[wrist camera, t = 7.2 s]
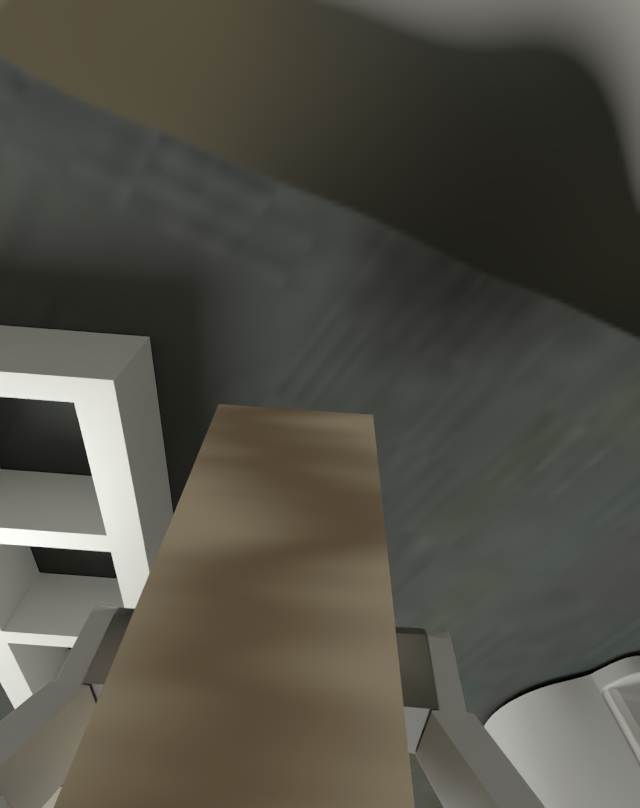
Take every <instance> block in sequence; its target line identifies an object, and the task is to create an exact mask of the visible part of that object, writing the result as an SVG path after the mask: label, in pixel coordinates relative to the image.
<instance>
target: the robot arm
mask: <svg viewBox="0 0 640 808" xmlns="http://www.w3.org/2000/svg"><path fill="white" fill-rule="evenodd" d="M134 610H135V609H134V608H122V607H113V606H97V605H96V607H95V608H94V609H93V610H92V611H91V612H90V614H89V616H88V618H87V620H86V622H85V624H84V625H83V627H82V629H81V631H80V633H79V635H78V637H77V639H76V641H75V643H74V645H73V647H72V649H71V651H70V653H69V655H68V657H67V659H66V661H65V663H64V665H63V667H62V669H61V671H60V673H59V675H58V677H57V679H56V681H55V682H47V683H46V684H45V685H44V686H42V687H41V688H40V689H39V690H38V691H36V692H35V693H34V694H33V695H32V696H30V697H29V698H28V699H27V700H26V701H24V702H23V703H22V704H21V705H20V706H18V707H17V708H16V709H15V710H14V711H12V712H11V713H10V714H9V715H8V716H6V717H5V718H4V719H3V720H2V721H0V808H42V807H43V806H44V804H45V803H46V802H47V801H48V800H49V799H50V798H51V796H52V795H53V794H54V793H55V792H56V791H57V790H58V789H59V787H60V786H61V785H62V784H63V783H64V781H65V779H66V776H67V774H68V771H69V769H70V767H71V764H72V762H73V759H74V757H75V754H76V752H77V749H78V747H79V745H80V742H81V740H82V737H83V735H84V732H85V730H86V727H87V725H88V723H89V720H90V718H91V715H92V713H93V710H94V708H95V705H96V703H97V700H98V698H99V696H100V693H101V691H102V688H103V686H104V683H105V681H106V678H107V676H108V674H109V671H110V669H111V666H112V664H113V661H114V659H115V656H116V654H117V652H118V649H119V647H120V644H121V642H122V639H123V637H124V634H125V632H126V630H127V627H128V625H129V622H130V620H131V617H132V615H133V612H134ZM395 629H396V639H397V648H398V658H399V667H400V676H401V686H402V695H403V705H404V714H405V724H406V733H407V742H408V752H409V753H414V754H416V755H415V757H416V758H417V760H418V762H419V764H420V766H421V767H422V769H423V771H424V773H425V775H426V776H427V778H428V780H429V782H430V784H431V785H432V787H433V789H434V791H435V793H436V794H437V796H438V798H439V800H440V802H441V803H442V805H443V807H444V808H640V656H632V657H628V658H625V659H622V660H619V661H617V662H614V663H612V664H610V665H608V666H606V667H604V668H602V669H600V670H598V671H596V672H594V673H592V674H590V675H587V676H584V677H580V678H577V679H573V680H568V681H564V682H560V683H556V684H553V685H549V686H546V687H543V688H540V689H537V690H534V691H531V692H529V693H527V694H524V695H522V696H520V697H518V698H516V699H514V700H512V701H511V702H509V703H507V704H506V705H504V706H503V707H501V708H500V709H499V710H498V711H496V712H495V713H494V714H493V715H492V716H491V717H490V718H489V720H488V721H487V722H486V724H485V726H483V725H482V724H481V723H480V721H479V720H478V719H477V717H476V716H475V715H474V713H466V708H465V703H464V698H463V693H462V689H461V684H460V679H459V674H458V670H457V665H456V660H455V655H454V650H453V646H452V641H451V637H450V635H449V633H448V632H447V631H445V630H430V629H422V628H403V627H395Z"/></svg>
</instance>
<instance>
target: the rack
mask: <svg viewBox="0 0 640 808" xmlns="http://www.w3.org/2000/svg"><path fill="white" fill-rule="evenodd" d="M0 397H9V398H22V399H36V400H49V401H62V402H74V404H75V408H76V412H77V416H78V420H79V424H80V429H81V433H82V437H83V441H84V445H85V449H86V453H87V457H88V461H89V465H90V469H91V473H92V476H86V475H73V474H59V473H46V472H33V471H20V470H6V469H1V468H0V682H1V684H2V686H3V688H4V690H5V692H6V694H7V695H8V697H9V699H10V701H11V703H12V705H13V706H14V708H15V709H16V708H17V707H18V706H20V705H21V704H22V703H23V702H24V701H26V700H27V699H28V698H29V697H30V696H32V695H33V694H34V693H35V692H36V691H38V690H39V689H40V688H41V687H42V686H44V685H45V684H46V683H47V682H55V681H56V679H57V677H58V675H59V673H60V671H61V669H62V667H63V665H64V663H65V661H66V659H67V657H68V655H69V653H70V651H71V649H68V647H69V648H72V647H73V645H74V643H75V641H76V639H77V637H78V635H79V633H80V631H81V629H82V627H83V625H84V624H85V622H86V620H87V618H88V616H89V614H90V612H91V611H92V610H93V609H94V608H95V607H96V605H97V606H113V607H122V608H134V609H135V608H136V605H137V603H138V600H139V598H140V595H141V593H142V590H143V588H144V586H145V583H146V581H147V578H148V576H149V573H150V571H151V568H152V566H153V564H154V561H155V559H156V556H157V554H158V551H159V549H160V546H161V544H162V541H163V539H164V537H165V534H166V532H167V529H168V527H169V524H170V522H171V519H172V517H173V508H172V501H171V493H170V486H169V478H168V471H167V463H166V456H165V448H164V441H163V434H162V426H161V419H160V411H159V404H158V396H157V389H156V381H155V374H154V366H153V359H152V351H151V344H150V337H146V336H133V335H120V334H107V333H94V332H81V331H69V330H56V329H43V328H30V327H17V326H4V325H0ZM30 546H36V547H49V548H63V549H76V550H89V551H103V552H111V555H112V559H113V563H114V567H115V571H116V575H117V578H104V577H91V576H77V575H64V574H50V573H40V572H39V570H38V567H37V564H36V562H35V559H34V556H33V554H32V551H31V548H30Z"/></svg>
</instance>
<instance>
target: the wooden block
mask: <svg viewBox="0 0 640 808" xmlns="http://www.w3.org/2000/svg"><path fill="white" fill-rule="evenodd" d="M54 808H414V799H413V790H412V780H411V771H410V761H409V752H408V742H407V733H406V724H405V714H404V705H403V695H402V686H401V676H400V667H399V658H398V648H397V639H396V629H395V620H394V610H393V601H392V592H391V582H390V573H389V563H388V554H387V544H386V535H385V526H384V516H383V507H382V497H381V488H380V478H379V469H378V460H377V450H376V441H375V431H374V422H373V415H366V414H352V413H338V412H323V411H309V410H294V409H280V408H265V407H251V406H236V405H222V404H218V407H217V409H216V412H215V414H214V417H213V419H212V422H211V424H210V427H209V429H208V431H207V434H206V436H205V439H204V441H203V444H202V446H201V449H200V451H199V453H198V456H197V458H196V461H195V463H194V466H193V468H192V471H191V473H190V475H189V478H188V480H187V483H186V485H185V488H184V490H183V493H182V495H181V497H180V500H179V502H178V505H177V507H176V510H175V512H174V515H173V517H172V519H171V522H170V524H169V527H168V529H167V532H166V534H165V537H164V539H163V541H162V544H161V546H160V549H159V551H158V554H157V556H156V559H155V561H154V564H153V566H152V568H151V571H150V573H149V576H148V578H147V581H146V583H145V586H144V588H143V590H142V593H141V595H140V598H139V600H138V603H137V605H136V608H135V610H134V612H133V615H132V617H131V620H130V622H129V625H128V627H127V630H126V632H125V634H124V637H123V639H122V642H121V644H120V647H119V649H118V652H117V654H116V656H115V659H114V661H113V664H112V666H111V669H110V671H109V674H108V676H107V678H106V681H105V683H104V686H103V688H102V691H101V693H100V696H99V698H98V700H97V703H96V705H95V708H94V710H93V713H92V715H91V718H90V720H89V723H88V725H87V727H86V730H85V732H84V735H83V737H82V740H81V742H80V745H79V747H78V749H77V752H76V754H75V757H74V759H73V762H72V764H71V767H70V769H69V771H68V774H67V776H66V779H65V781H64V784H63V786H62V789H61V791H60V794H59V796H58V798H57V801H56V804H55V806H54Z"/></svg>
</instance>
